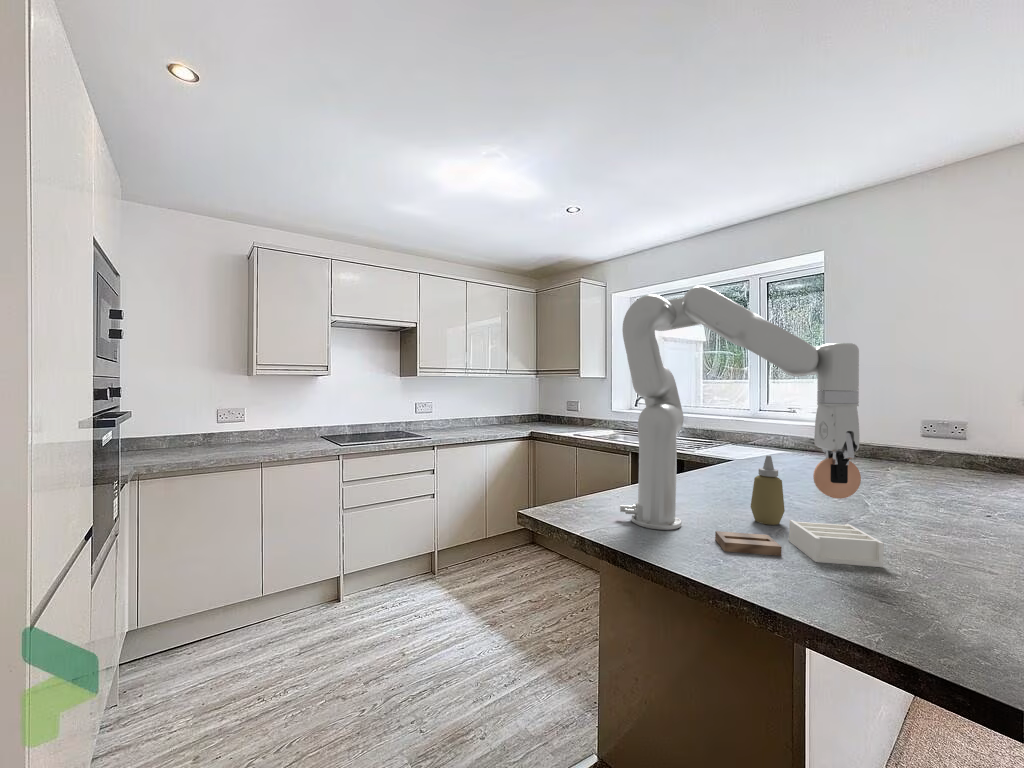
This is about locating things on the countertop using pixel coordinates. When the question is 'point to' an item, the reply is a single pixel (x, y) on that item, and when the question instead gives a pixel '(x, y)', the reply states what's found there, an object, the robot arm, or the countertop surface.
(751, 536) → the stand
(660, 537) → the countertop surface
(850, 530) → the rack
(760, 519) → the squeeze bottle
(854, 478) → the peach round disc
